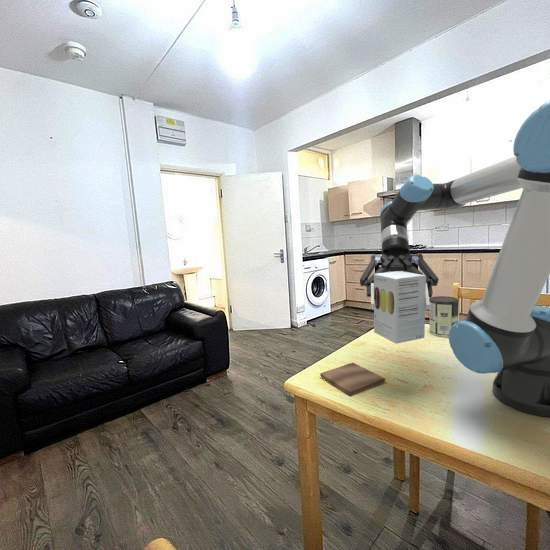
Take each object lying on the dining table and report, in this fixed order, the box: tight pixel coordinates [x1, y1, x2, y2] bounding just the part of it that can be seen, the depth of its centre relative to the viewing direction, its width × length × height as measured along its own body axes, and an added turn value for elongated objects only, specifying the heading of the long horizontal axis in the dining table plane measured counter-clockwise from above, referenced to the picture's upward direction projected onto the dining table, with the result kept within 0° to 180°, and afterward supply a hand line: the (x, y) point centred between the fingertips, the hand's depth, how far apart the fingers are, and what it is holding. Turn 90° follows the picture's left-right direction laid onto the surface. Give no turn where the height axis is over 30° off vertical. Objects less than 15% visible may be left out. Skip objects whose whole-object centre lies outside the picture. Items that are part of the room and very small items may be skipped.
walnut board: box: [320, 362, 386, 397], centre depth 88 cm, size 13×13×1 cm
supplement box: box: [373, 270, 426, 344], centre depth 80 cm, size 10×9×17 cm
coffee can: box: [428, 295, 460, 338], centre depth 120 cm, size 10×10×14 cm
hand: (399, 306), depth 77 cm, fingers closed on supplement box, 12 cm apart
